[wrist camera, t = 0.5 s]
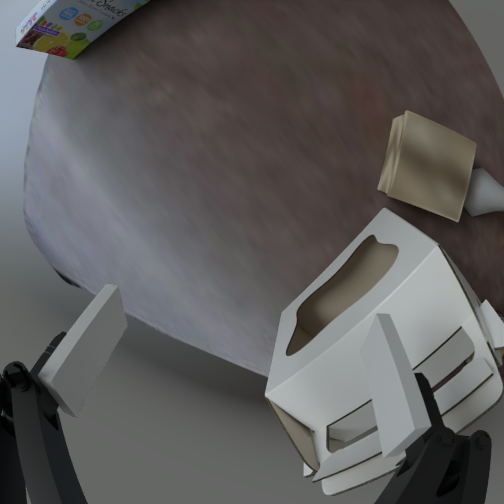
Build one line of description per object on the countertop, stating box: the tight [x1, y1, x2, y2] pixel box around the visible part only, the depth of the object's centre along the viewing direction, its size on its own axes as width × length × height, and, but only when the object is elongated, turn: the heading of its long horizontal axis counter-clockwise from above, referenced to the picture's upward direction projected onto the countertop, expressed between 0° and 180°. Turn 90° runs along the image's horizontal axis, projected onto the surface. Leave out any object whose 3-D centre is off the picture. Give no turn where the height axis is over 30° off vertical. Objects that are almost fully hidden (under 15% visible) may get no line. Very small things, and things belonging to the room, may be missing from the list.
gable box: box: [265, 208, 504, 496], centre depth 26 cm, size 22×13×28 cm, turn 142°
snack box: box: [16, 0, 150, 59], centre depth 24 cm, size 21×6×15 cm, turn 112°
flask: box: [463, 168, 504, 217], centre depth 26 cm, size 7×7×10 cm
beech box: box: [378, 111, 476, 222], centre depth 29 cm, size 10×10×6 cm
